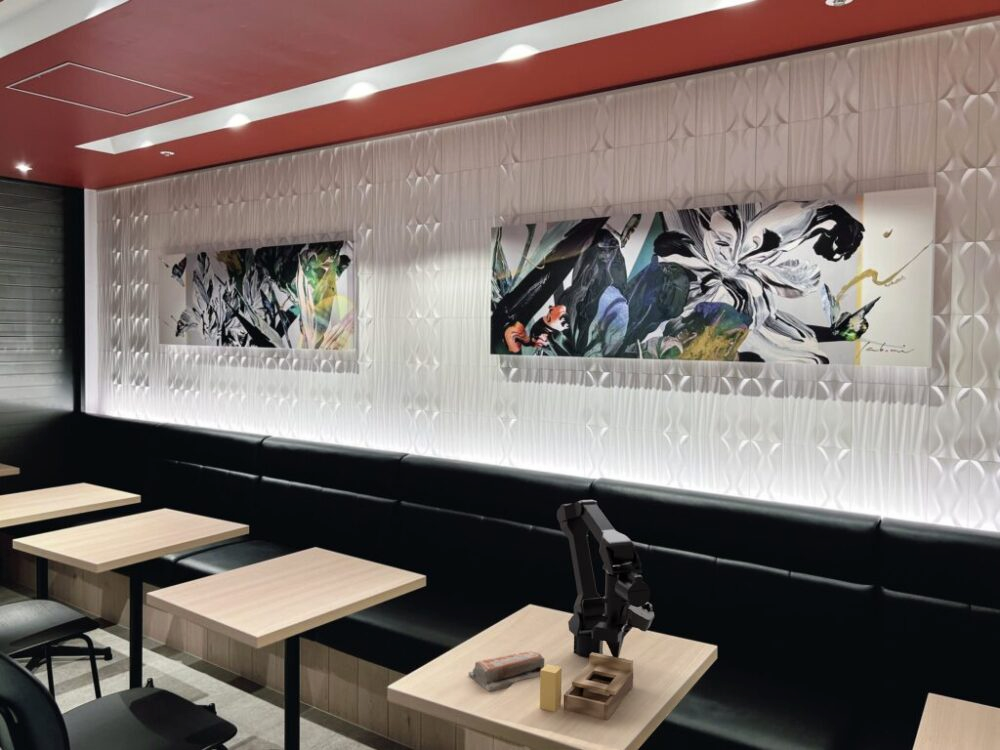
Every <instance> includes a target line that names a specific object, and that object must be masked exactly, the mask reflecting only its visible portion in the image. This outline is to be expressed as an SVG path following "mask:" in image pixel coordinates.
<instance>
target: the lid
mask: <svg viewBox="0 0 1000 750" xmlns="http://www.w3.org/2000/svg"><path fill="white" fill-rule="evenodd" d="M588 661H589V662H588V664H587V665H586V666H585V667H584V668H583V669H582V670H581V671H580V672H579V673H578V674H577V676H576V677H575V678H574V679H573V680H572V681H571V686H572V685H573V686H577V687H582V688H586V689H591V690H595V691H599V692H604V693H608V694H612V695H616V693H617V692H618V691H619V690H620V688H621V687H622V686H623V684H624V683H625V682H626V681H627V679H628V678H629V677H630V675H631V674H632V673H633V674H634V660H631V659H627V658H622V657H613V656H612V655H608V654H604V653H603V654H598V653H593V652H592V653H591V654H590V657H589V660H588ZM593 674H598V675H602V676H607V677H611V678H614V679H613V680H612V682H611V683H610V684H609V685H608V684H603V683H599V682H594V681H590V680H588V679H589V678H590V677H591V676H592V675H593Z"/></svg>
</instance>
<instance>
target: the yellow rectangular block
mask: <svg viewBox="0 0 1000 750" xmlns="http://www.w3.org/2000/svg"><path fill="white" fill-rule="evenodd" d="M539 679H540V680H539V681H540V682H539V683H540V684H539V689H540V690H539V692H540V693H539V709H543V710H546V711H551V712H556V711H557V710H558V709H559V708H560V707H561V705H562V666H557V665H553V664H548V663H547V664H544V667H543V668H542V669H541V672H540V676H539Z"/></svg>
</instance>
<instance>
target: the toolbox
mask: <svg viewBox="0 0 1000 750" xmlns="http://www.w3.org/2000/svg"><path fill="white" fill-rule="evenodd" d="M613 679H614V678H611V677H607V676H602V675H598V674H593V675H592V676H591V677H590V678H589V679H588V680H590V681H594V682H599V683H603V684H608V685H609V684H610V683H611V682H612V680H613ZM633 686H634V672H633V673H632V674H631V675H630V677H629V678H628V679H627V681H626V682H625V683H624V684H623V686H622V687H621V688H620V690H619V691H618V692H617V693H616V695H612V694H608V693H604V692H599V691H595V690H591V689H586V688H582V687H577V686H573V685H572V684H571V687H569V689H568V690H566V692H565V693H564V694H563V704H562V706H563V710H564V711H567V712H568V711H569V712H572V713H576V714H579V715H585V716H588V717H593V718H596V719H597V718H598V719H600V720H604V721H608V720H609V719H610V718H611V717H612V716H613V714H614V712H615V711H616V709H617V708H619V705H620V704H621V703H622V701H623V700H624V699H625V698H626V697H627V695H628V694H629V692H630V691H631V690H632V688H633Z"/></svg>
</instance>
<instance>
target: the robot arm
mask: <svg viewBox="0 0 1000 750" xmlns="http://www.w3.org/2000/svg"><path fill="white" fill-rule="evenodd" d="M556 519H557V521H558V523H559V527H560V530H561V531H562V533H563V534H564V535H565V536H566V538H567V539H568V541H569V549H570V554H571V560H572V567H573V573H574V579H575V585H576V593H577V597H576V599H575V603H574V605H573V614H572V616H571V617H570V619H569V620H568V622H567V623H568V631H569V632H570V633H571V634H572V635H573V654H576V655H577V656H579V657H582V658H590V654H591V653H592V652H593V653H598V654H603V655H604V648H603V647H604V646H603V645H604V642H605V643H606V645H607V646H608V649H609V651H610V654H611V656H613V657H618V658H620V654H621V650H622V647H623V643H624V639H625V637H626V636H627V634H628V633H629V632H630V631H631V630H632V629H633V626H634V627H636V628H637V629H638V630H640V631H641V632H647V630H648V629H649V628H650V627H651V625H652V622H653V620H654V618H655V612H654V611H653V604H652V603H650V602H649V600H650V597H651V590H650V587H649V585H648V584H647V583H646V582H644V580H643V576H642V575H641V574H638V573H642V572H643V569H642V561H641V559H640V557H639V555H638V551H637V548H636V546H635V545H634V542H633V541H632V540H631V539H630V538H629V537H628V536H627V535H625V534H623V533H621V532H619V531H617V530H616V529H615V527H614V526H613V525H612V524H611V523H610V521H609V519H608V518H607V517H606V516H605V514H604V513H603V512H602V510H601V509H600V508H599V504H598V501H597V500H594V499H582V500H579V501H575V502H573V503H563V504H561V505H560V507H559V508H557V511H556ZM589 531H590V532H591V533H592V535H593V537H594V538H595V540H596V541H597V542H598V544H599V550H598V553H599V555H600V558H601V560H602V563H603V565H602V569H603V570H604V571H605V577H604V578H605V584H604V587H605V588H604V589H605V590H604V596H603V597H601V595H600V594H599V593H598V592H597V587H596V586H597V585H596V579H595V573H594V569H593V564H592V557H591V552H590V546H589V540H588V533H589ZM628 623H629V624H631V625H629V624H628Z"/></svg>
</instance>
